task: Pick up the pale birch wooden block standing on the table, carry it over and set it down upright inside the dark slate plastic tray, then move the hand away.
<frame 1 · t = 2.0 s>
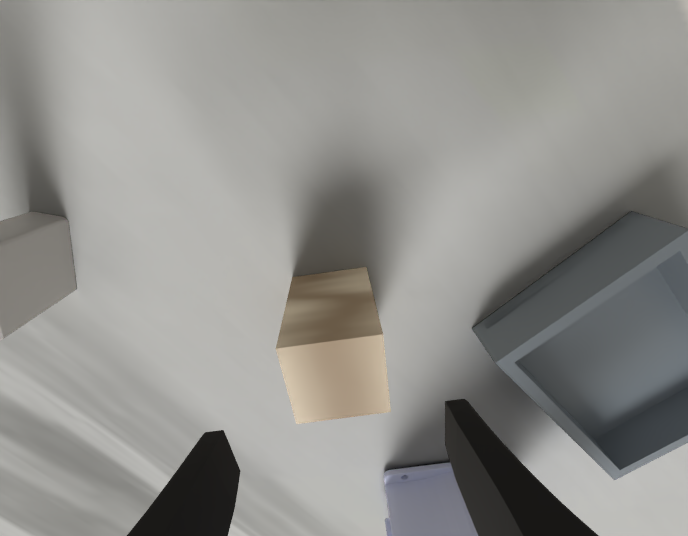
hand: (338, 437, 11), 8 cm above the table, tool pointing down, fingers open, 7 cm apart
block: (334, 303, 18), on the table
tray: (602, 345, 20), on the table
lighter: (53, 224, 16), on the table
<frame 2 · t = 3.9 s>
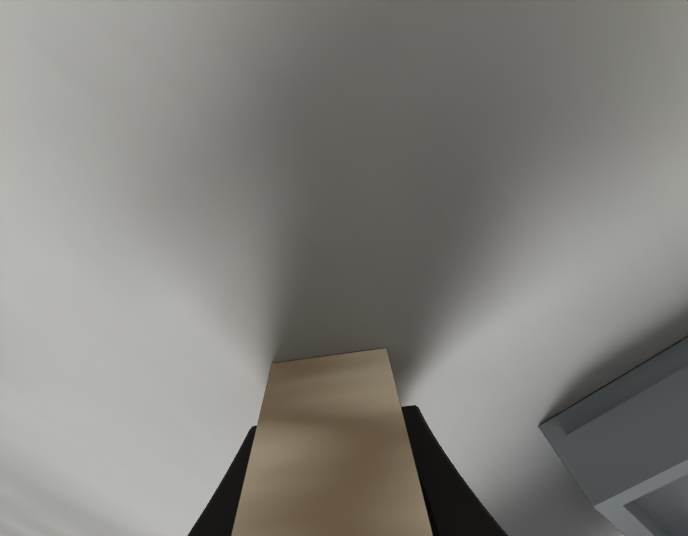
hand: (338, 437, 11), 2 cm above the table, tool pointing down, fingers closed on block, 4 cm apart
block: (336, 398, 12), on the table, touching gripper
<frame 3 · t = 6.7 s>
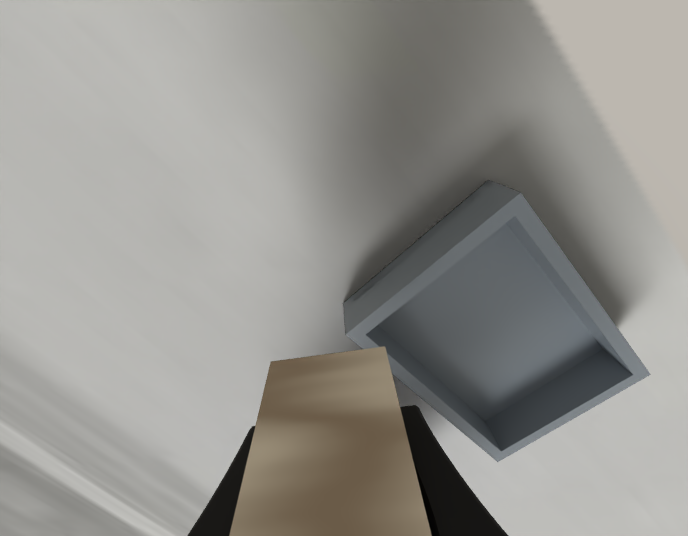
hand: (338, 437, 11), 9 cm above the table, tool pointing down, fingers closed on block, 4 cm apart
block: (336, 396, 12), point 7 cm above the table, touching gripper
tray: (482, 323, 20), on the table
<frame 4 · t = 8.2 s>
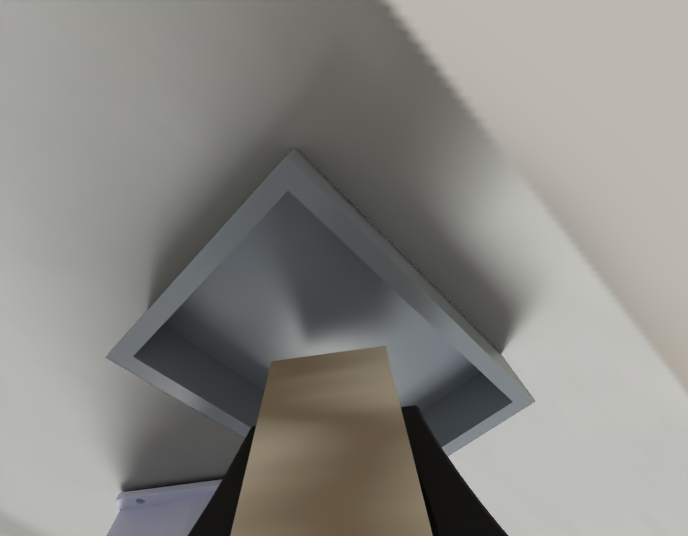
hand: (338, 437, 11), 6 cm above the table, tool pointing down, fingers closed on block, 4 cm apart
block: (336, 395, 12), point 4 cm above the table, touching gripper
tray: (334, 335, 16), on the table
when the fingers open (4 cm above the table, at t = 9.4 s): block drops 1 cm, resting on tray.
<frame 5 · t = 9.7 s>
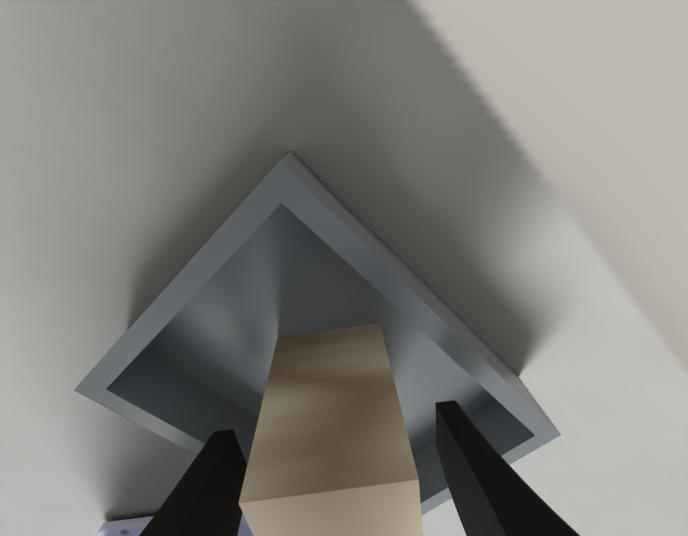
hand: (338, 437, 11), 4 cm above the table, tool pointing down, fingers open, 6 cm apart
block: (336, 369, 13), point 1 cm above the table, touching tray
tray: (335, 357, 14), on the table
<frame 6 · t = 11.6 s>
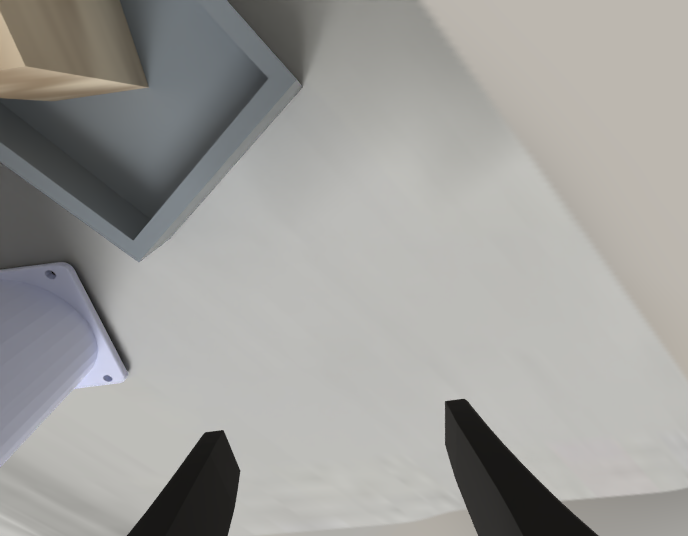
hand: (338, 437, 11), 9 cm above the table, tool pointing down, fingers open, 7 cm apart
block: (77, 35, 13), point 1 cm above the table, touching tray
tray: (91, 41, 13), on the table
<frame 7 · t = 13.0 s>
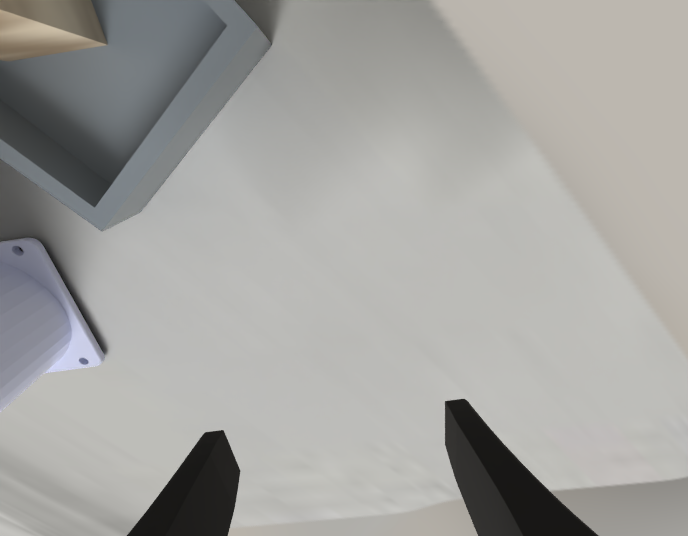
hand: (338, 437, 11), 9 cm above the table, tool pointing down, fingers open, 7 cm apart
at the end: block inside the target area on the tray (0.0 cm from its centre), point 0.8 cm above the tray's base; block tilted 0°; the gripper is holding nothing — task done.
